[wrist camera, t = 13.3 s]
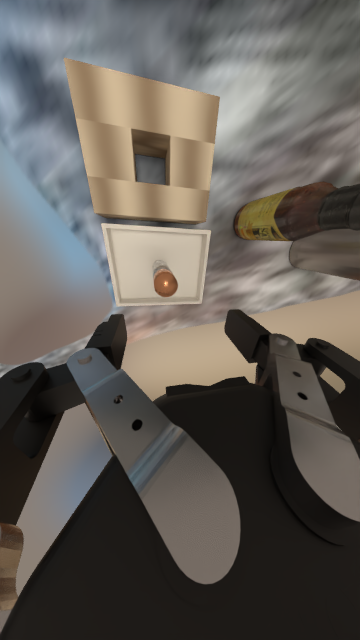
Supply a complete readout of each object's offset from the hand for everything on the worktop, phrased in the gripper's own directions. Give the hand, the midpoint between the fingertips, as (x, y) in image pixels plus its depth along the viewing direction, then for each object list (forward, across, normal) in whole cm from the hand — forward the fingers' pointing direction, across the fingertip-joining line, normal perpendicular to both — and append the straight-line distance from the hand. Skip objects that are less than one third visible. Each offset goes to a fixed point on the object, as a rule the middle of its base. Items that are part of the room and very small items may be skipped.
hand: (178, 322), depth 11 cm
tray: (+23, 0, 0) cm, 23 cm away
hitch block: (+23, +1, -14) cm, 27 cm away
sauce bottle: (+23, -18, -9) cm, 31 cm away
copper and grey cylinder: (+22, 0, 0) cm, 22 cm away
